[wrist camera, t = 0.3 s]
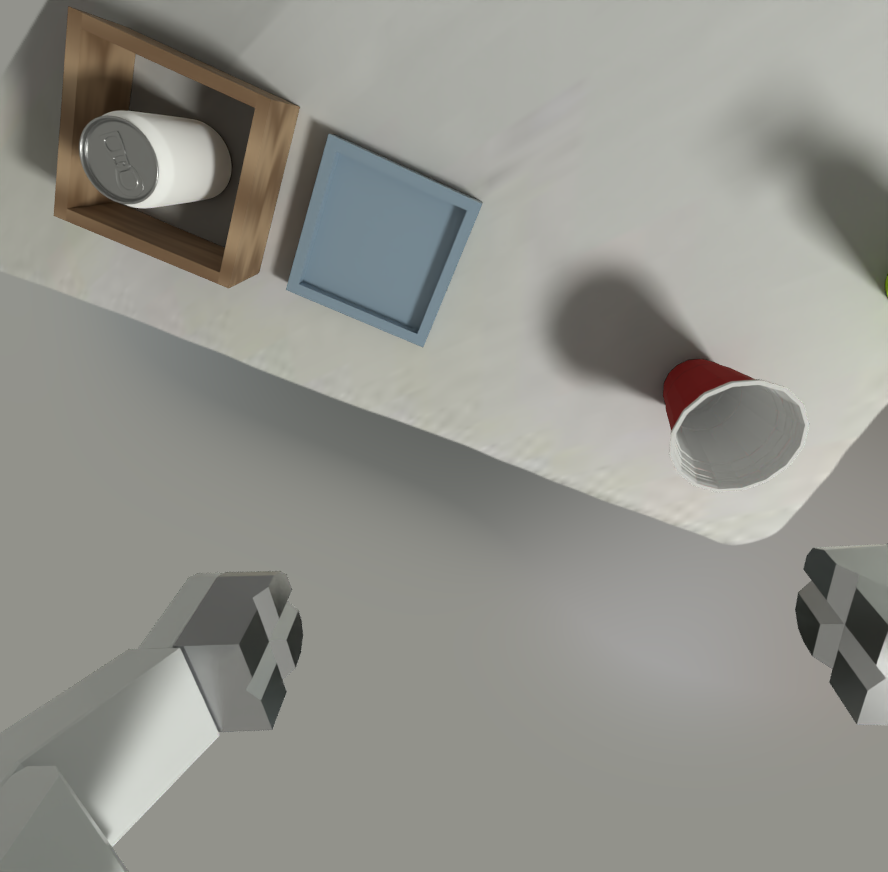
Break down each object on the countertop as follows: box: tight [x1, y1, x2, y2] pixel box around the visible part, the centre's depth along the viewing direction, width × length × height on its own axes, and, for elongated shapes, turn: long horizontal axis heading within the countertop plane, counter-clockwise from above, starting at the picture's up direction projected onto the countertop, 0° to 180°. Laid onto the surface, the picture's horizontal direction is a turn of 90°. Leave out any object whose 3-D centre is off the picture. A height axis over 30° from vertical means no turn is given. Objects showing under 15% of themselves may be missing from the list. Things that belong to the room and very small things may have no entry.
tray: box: [286, 134, 482, 347], centre depth 51 cm, size 14×14×2 cm
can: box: [79, 111, 231, 208], centre depth 44 cm, size 6×6×12 cm
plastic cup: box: [663, 359, 810, 492], centre depth 50 cm, size 11×11×12 cm
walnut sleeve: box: [54, 6, 300, 288], centre depth 46 cm, size 15×15×7 cm
